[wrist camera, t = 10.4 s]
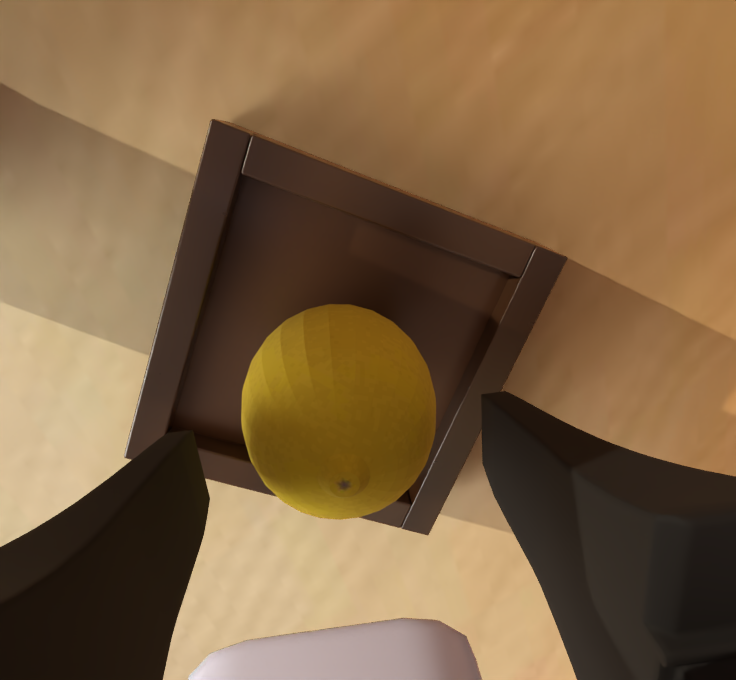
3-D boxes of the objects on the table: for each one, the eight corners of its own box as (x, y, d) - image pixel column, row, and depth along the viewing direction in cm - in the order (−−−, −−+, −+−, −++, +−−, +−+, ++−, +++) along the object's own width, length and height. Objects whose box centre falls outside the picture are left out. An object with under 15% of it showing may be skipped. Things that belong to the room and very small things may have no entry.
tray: (147, 419, 21) (122, 458, 19) (227, 121, 18) (210, 117, 15) (416, 492, 24) (428, 536, 21) (536, 242, 20) (568, 257, 17)
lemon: (428, 293, 19) (499, 396, 11) (390, 428, 20) (430, 595, 13) (271, 261, 18) (235, 349, 10) (247, 405, 20) (201, 569, 12)
